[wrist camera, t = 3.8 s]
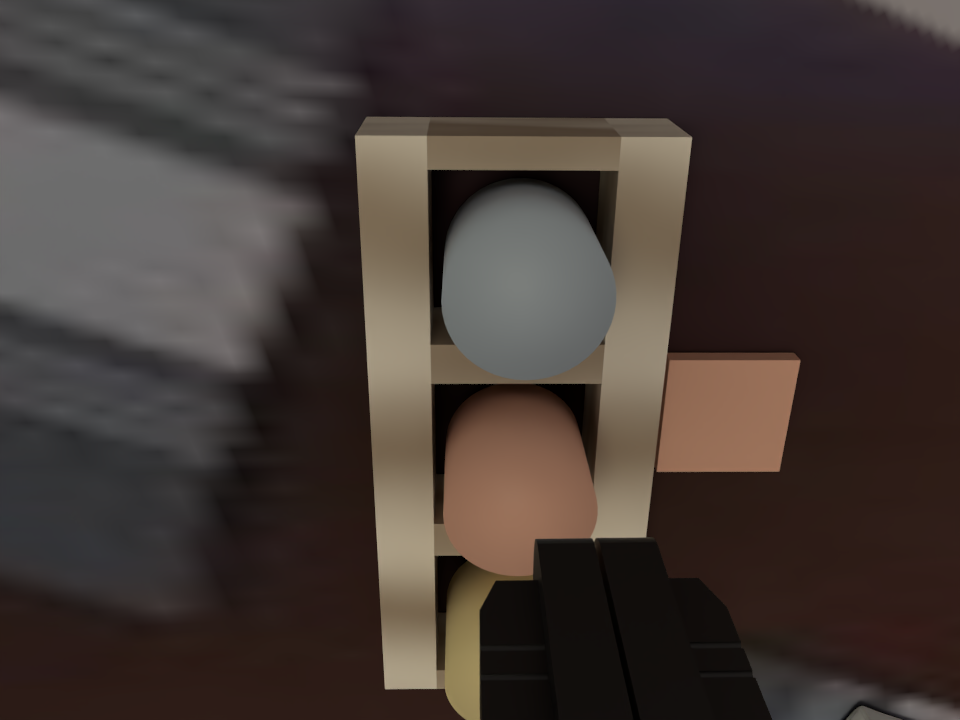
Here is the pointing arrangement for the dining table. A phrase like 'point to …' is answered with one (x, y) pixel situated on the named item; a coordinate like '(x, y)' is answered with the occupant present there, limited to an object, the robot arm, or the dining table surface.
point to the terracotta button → (515, 477)
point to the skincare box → (869, 715)
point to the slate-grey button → (525, 281)
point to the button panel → (436, 360)
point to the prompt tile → (725, 411)
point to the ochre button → (466, 635)
